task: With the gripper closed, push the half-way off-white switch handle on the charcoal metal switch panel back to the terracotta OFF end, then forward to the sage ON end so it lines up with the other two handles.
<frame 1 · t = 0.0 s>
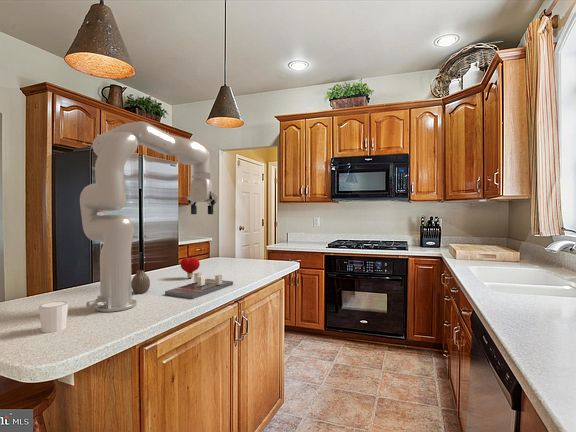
hand: (202, 214, 155), 31 cm above the countertop, tool pointing down, fingers open, 9 cm apart
white cup: (54, 329, 94), on the countertop
tripped handle: (201, 280, 140), point 4 cm above the countertop, slide at 0.0 cm
light bulb: (190, 278, 163), on the countertop
switch panel: (201, 289, 140), on the countertop
vase: (140, 293, 135), on the countertop
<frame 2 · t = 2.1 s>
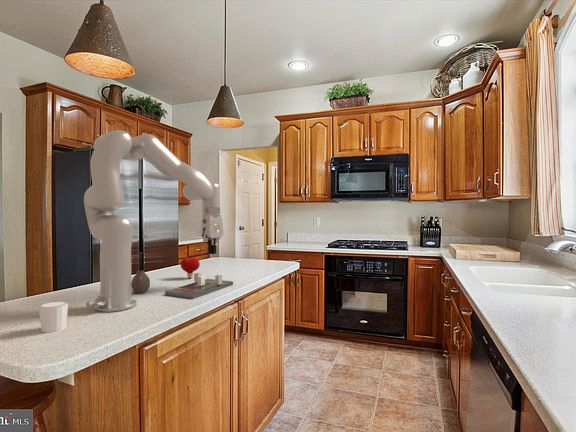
hand: (212, 253, 146), 14 cm above the countertop, tool pointing down, fingers closed
nothing on the countertop moved.
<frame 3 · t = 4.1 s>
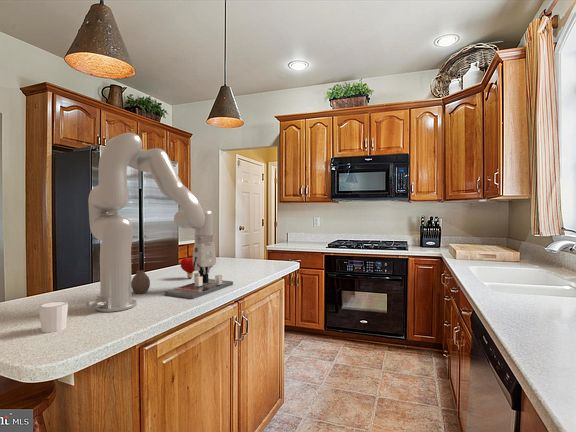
hand: (204, 282, 142), 2 cm above the countertop, tool pointing down, fingers closed
tripped handle: (198, 281, 138), point 4 cm above the countertop, slide at -1.5 cm, touching gripper
everything else where it was.
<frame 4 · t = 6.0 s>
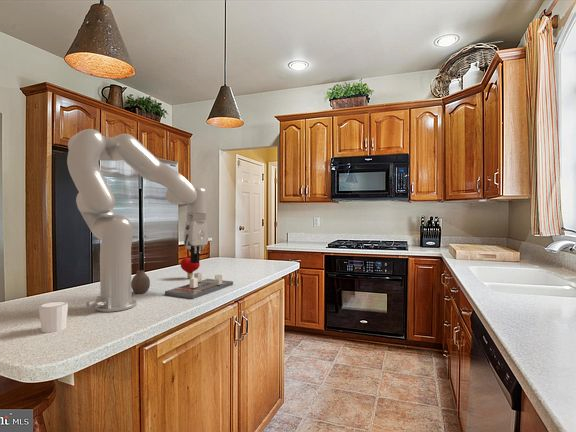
hand: (194, 262, 137), 12 cm above the countertop, tool pointing down, fingers closed
tripped handle: (193, 282, 136), point 4 cm above the countertop, slide at -4.6 cm
everything else where it was.
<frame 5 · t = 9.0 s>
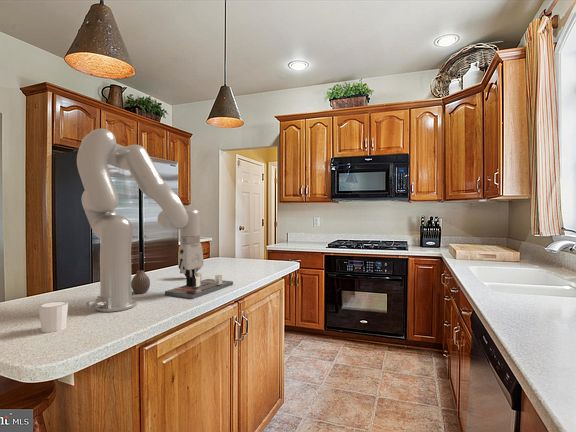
hand: (190, 286, 134), 3 cm above the countertop, tool pointing down, fingers closed
tripped handle: (196, 281, 137), point 4 cm above the countertop, slide at -2.9 cm, touching gripper
everything else where it was.
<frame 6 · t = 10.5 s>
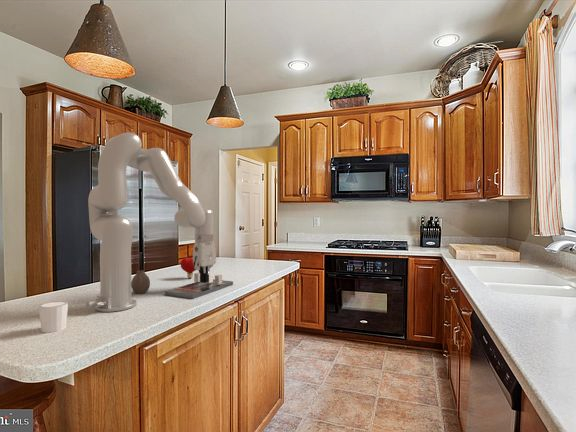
hand: (204, 282, 141), 3 cm above the countertop, tool pointing down, fingers closed
tripped handle: (209, 278, 144), point 4 cm above the countertop, slide at 5.2 cm, touching gripper
everything else where it was.
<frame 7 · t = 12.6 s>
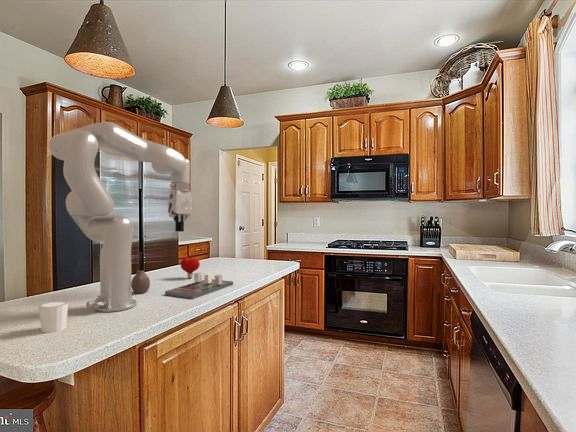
hand: (179, 231, 141), 24 cm above the countertop, tool pointing down, fingers closed
tripped handle: (208, 278, 144), point 4 cm above the countertop, slide at 4.6 cm
everything else where it was.
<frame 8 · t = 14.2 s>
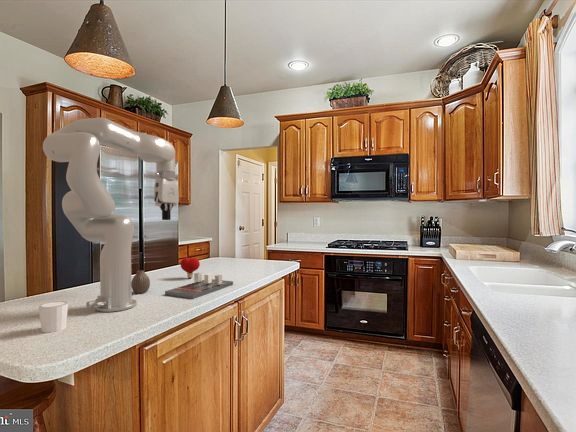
hand: (166, 219, 142), 29 cm above the countertop, tool pointing down, fingers closed
nothing on the countertop moved.
at the end: tripped handle slide at 4.6 cm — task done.
